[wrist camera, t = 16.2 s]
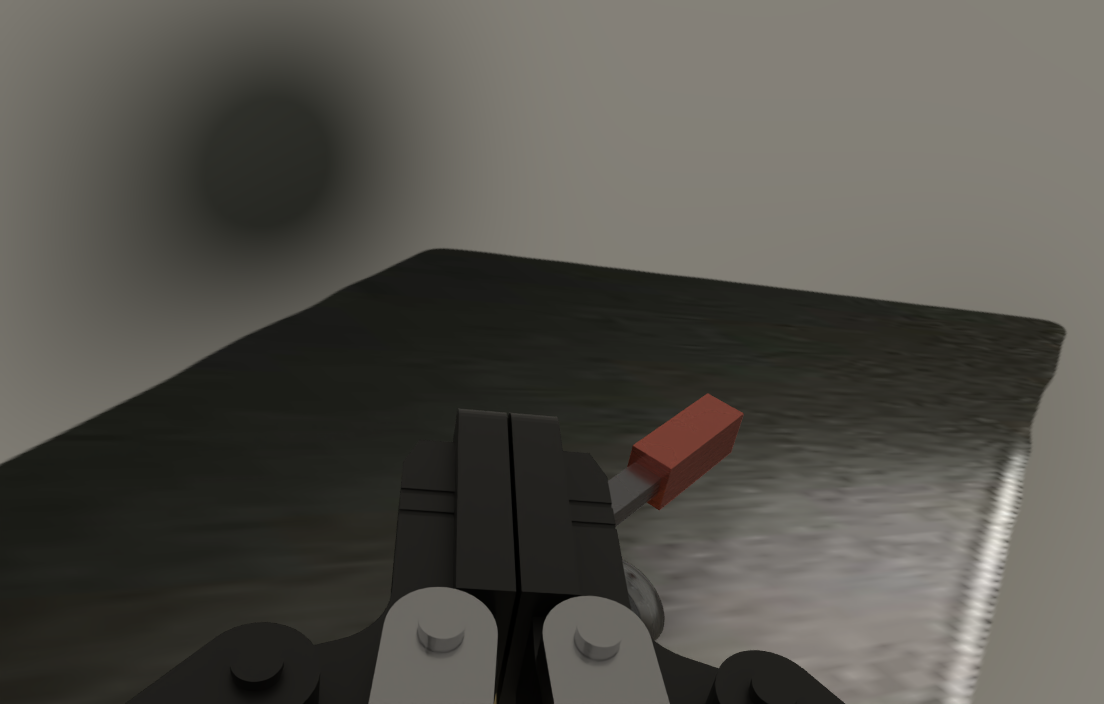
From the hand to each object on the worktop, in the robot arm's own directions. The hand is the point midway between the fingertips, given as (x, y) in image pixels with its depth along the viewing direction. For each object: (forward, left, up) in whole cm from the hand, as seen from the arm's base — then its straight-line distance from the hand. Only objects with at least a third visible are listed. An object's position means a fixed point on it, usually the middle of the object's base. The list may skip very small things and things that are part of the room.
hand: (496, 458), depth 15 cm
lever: (+11, +28, -26) cm, 40 cm away
